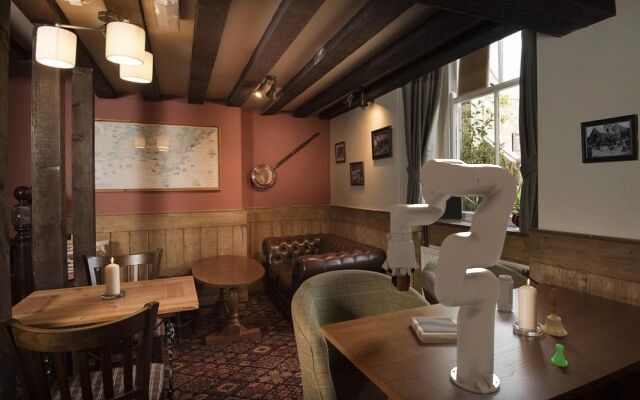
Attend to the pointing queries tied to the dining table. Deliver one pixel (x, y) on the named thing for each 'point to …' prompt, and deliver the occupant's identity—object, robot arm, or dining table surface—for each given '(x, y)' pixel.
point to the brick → (402, 282)
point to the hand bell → (554, 318)
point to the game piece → (559, 357)
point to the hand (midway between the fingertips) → (400, 284)
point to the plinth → (435, 329)
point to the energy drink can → (505, 293)
